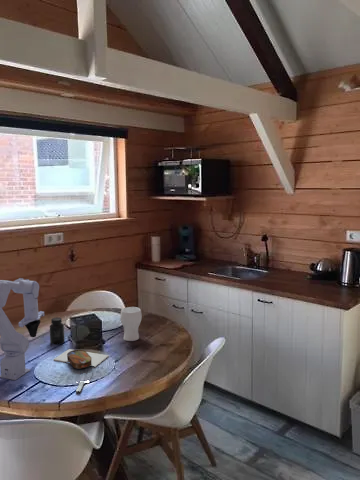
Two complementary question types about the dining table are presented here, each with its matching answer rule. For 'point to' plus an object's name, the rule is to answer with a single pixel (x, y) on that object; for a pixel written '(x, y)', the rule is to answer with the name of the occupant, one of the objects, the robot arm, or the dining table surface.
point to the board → (95, 357)
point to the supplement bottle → (56, 331)
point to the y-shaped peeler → (81, 386)
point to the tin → (79, 359)
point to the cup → (131, 322)
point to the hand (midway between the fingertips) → (33, 336)
